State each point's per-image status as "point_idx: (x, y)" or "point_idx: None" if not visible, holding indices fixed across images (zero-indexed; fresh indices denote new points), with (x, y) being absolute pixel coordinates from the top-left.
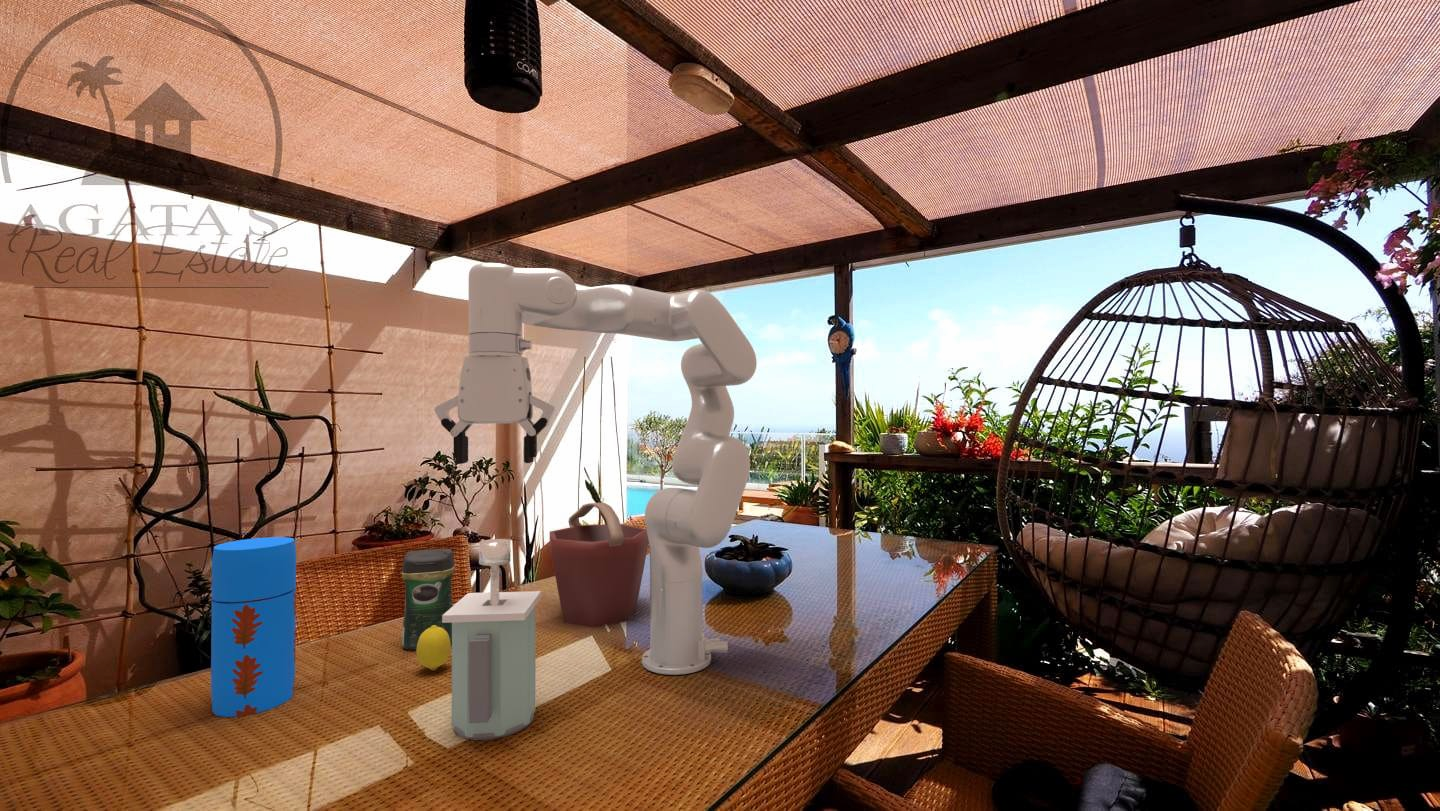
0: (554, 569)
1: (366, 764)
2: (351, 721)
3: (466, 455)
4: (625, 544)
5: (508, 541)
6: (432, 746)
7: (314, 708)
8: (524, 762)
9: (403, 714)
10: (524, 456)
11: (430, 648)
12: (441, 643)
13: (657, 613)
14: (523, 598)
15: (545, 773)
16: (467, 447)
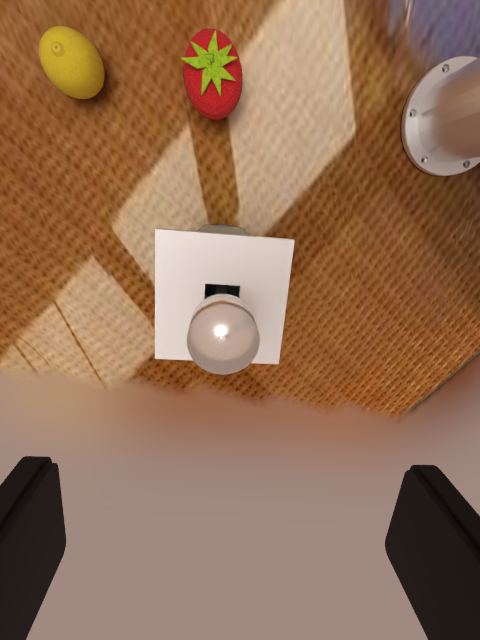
0: None
1: (120, 335)
2: (55, 242)
3: (40, 520)
4: None
5: (256, 342)
6: None
7: None
8: None
9: (109, 233)
10: (401, 578)
11: (76, 93)
12: (89, 82)
13: (475, 130)
14: (267, 284)
15: (281, 369)
16: (5, 556)
